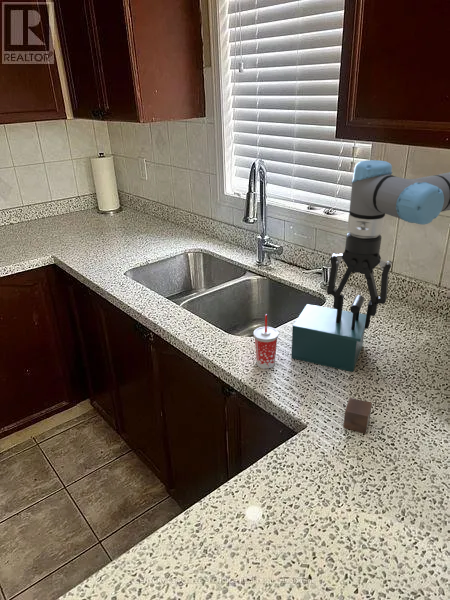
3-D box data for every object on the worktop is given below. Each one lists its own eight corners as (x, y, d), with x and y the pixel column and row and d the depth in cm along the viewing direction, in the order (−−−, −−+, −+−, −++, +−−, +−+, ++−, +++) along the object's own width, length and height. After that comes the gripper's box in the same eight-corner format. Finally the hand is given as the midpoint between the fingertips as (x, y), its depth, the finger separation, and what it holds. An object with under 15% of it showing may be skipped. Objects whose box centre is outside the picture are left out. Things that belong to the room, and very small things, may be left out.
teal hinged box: (362, 346, 118) (366, 317, 114) (353, 372, 108) (356, 341, 104) (305, 334, 124) (306, 306, 120) (291, 358, 114) (292, 328, 110)
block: (369, 419, 93) (372, 402, 91) (365, 434, 90) (368, 416, 88) (347, 414, 95) (349, 397, 93) (343, 427, 91) (345, 410, 89)
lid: (369, 317, 114) (372, 291, 111) (360, 342, 104) (363, 313, 100) (306, 306, 120) (308, 281, 117) (292, 328, 110) (293, 301, 107)
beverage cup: (282, 365, 112) (284, 316, 105) (263, 373, 109) (263, 323, 103) (268, 353, 116) (268, 306, 110) (248, 361, 114) (248, 313, 107)
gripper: (317, 233, 100) (310, 322, 110) (408, 244, 92) (391, 339, 103) (325, 223, 106) (318, 309, 116) (411, 233, 98) (395, 324, 109)
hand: (352, 323), depth 110 cm, fingers closed on lid, 6 cm apart
